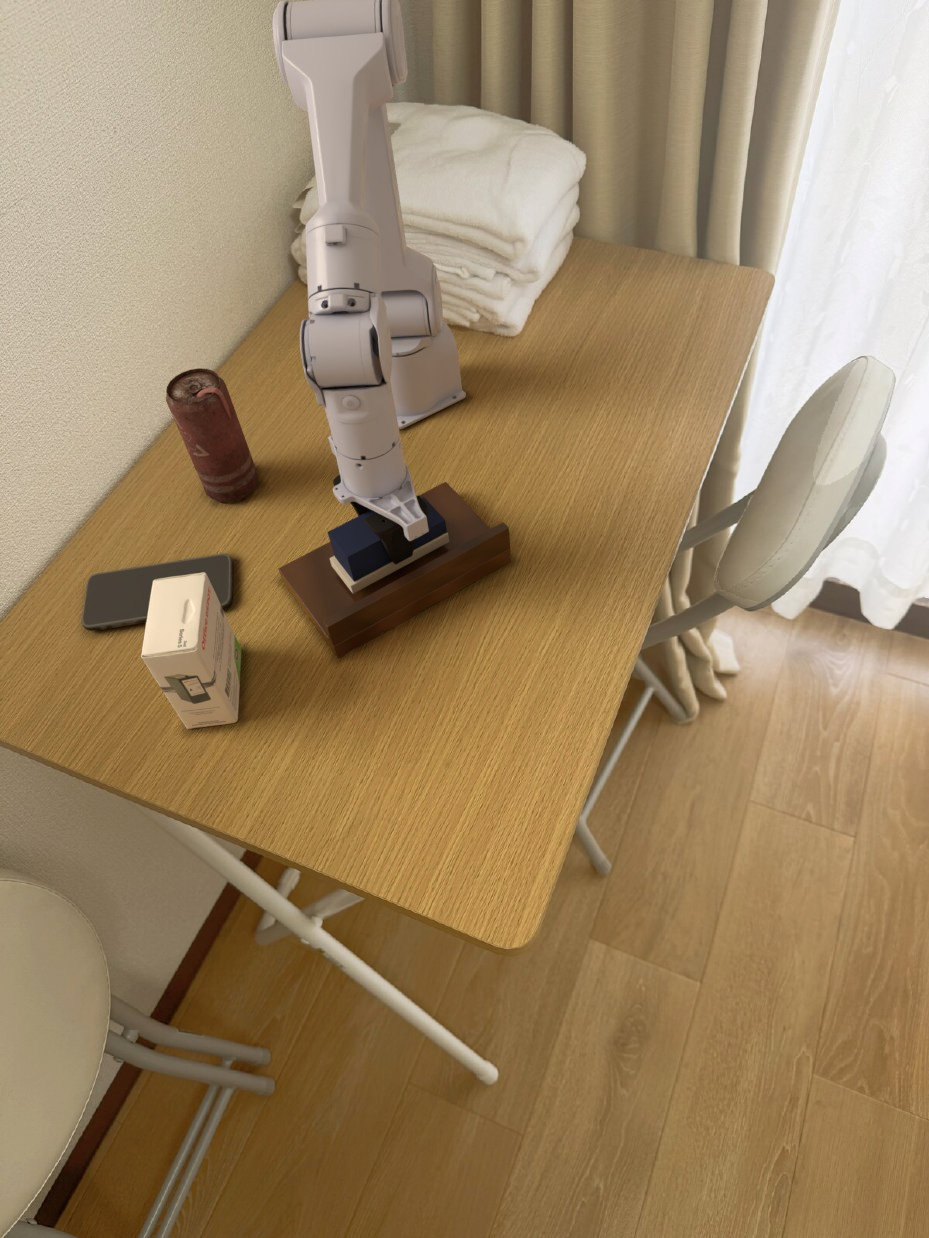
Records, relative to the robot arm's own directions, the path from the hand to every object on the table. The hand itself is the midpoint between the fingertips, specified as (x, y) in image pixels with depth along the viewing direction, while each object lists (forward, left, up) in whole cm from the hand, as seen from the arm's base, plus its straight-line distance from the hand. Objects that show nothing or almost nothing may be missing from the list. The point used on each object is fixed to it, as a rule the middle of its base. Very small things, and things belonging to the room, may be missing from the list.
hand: (390, 543), depth 89 cm
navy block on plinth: (0, 0, -1) cm, 1 cm away
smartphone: (+21, -12, -4) cm, 25 cm away
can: (+8, -22, -4) cm, 24 cm away
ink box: (+21, +2, -4) cm, 22 cm away
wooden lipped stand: (0, 0, -4) cm, 4 cm away
